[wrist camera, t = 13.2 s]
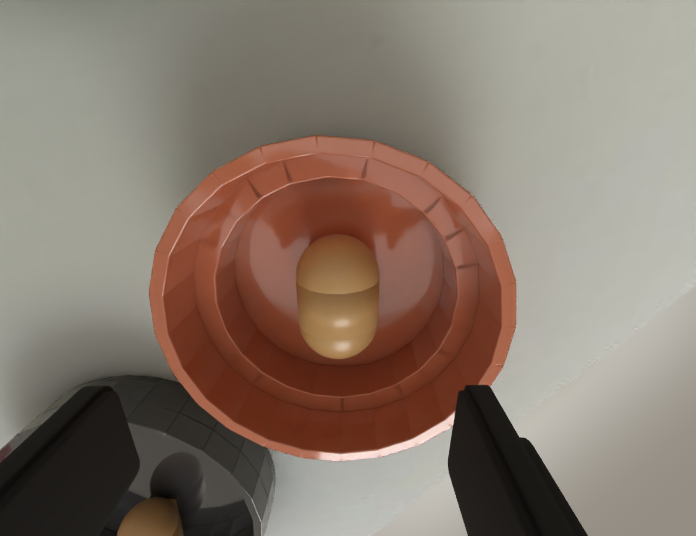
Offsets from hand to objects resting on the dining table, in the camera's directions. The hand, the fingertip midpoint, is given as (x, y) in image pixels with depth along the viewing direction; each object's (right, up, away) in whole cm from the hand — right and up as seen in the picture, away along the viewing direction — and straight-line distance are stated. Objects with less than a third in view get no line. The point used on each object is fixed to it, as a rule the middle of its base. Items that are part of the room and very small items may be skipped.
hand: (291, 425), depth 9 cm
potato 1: (-13, -15, +18) cm, 27 cm away
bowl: (+1, +4, +10) cm, 11 cm away
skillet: (-13, -12, +17) cm, 24 cm away
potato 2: (+1, +4, +10) cm, 10 cm away
